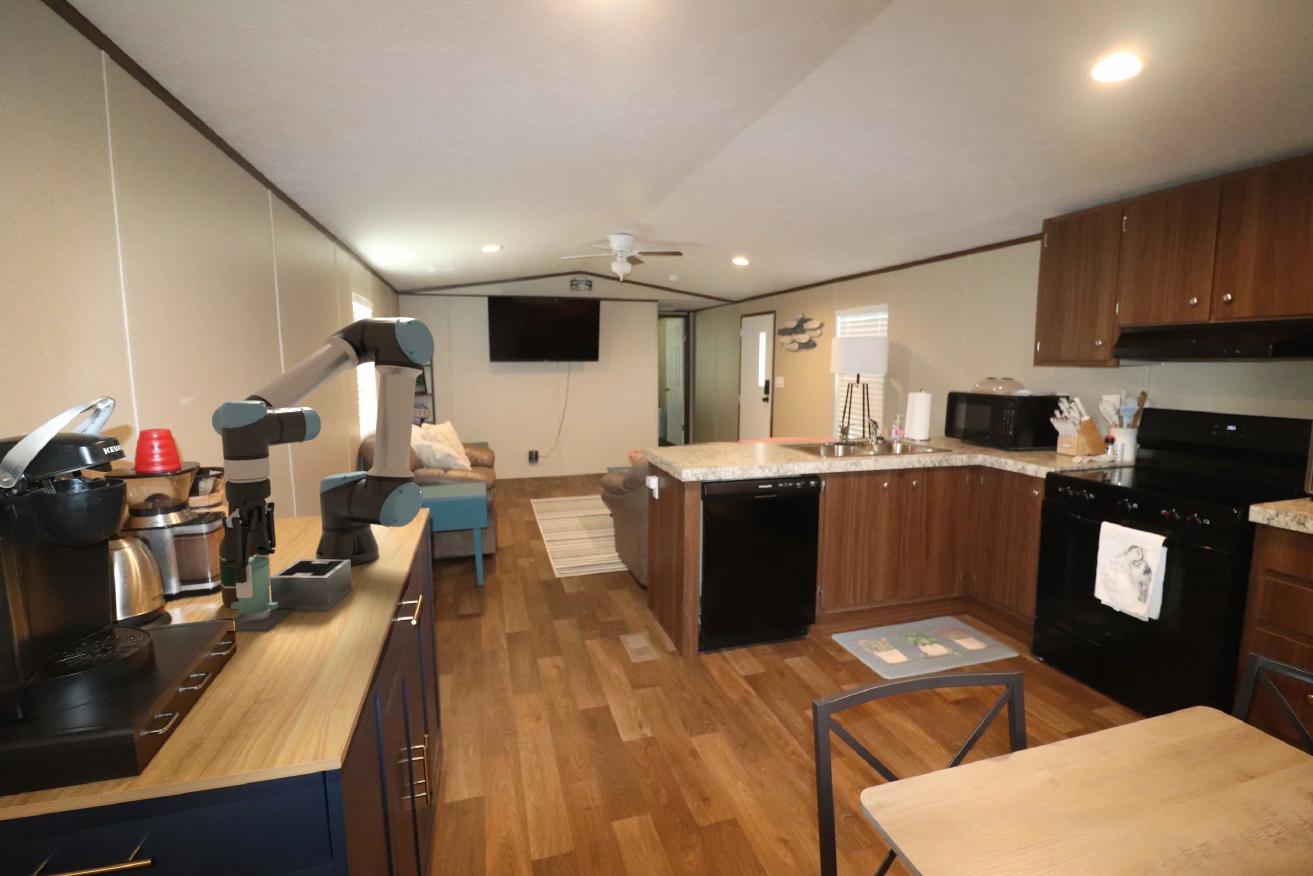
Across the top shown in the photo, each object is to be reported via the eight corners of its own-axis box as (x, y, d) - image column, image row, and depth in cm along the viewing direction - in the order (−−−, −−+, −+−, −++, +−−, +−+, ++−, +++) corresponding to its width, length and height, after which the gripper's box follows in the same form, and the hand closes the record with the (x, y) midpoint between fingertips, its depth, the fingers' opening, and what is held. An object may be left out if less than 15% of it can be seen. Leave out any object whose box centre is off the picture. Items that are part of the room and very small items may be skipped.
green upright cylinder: (284, 603, 127) (282, 557, 126) (269, 614, 122) (266, 566, 121) (241, 603, 127) (238, 556, 125) (224, 614, 121) (221, 565, 120)
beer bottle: (273, 598, 137) (266, 493, 134) (239, 611, 130) (232, 500, 126) (247, 592, 139) (241, 489, 136) (213, 605, 132) (205, 497, 129)
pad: (247, 612, 129) (246, 609, 129) (291, 612, 129) (291, 609, 129) (219, 631, 120) (219, 628, 120) (266, 631, 121) (266, 628, 120)
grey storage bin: (299, 590, 142) (298, 559, 141) (353, 590, 142) (351, 559, 141) (270, 611, 130) (268, 577, 129) (328, 611, 130) (327, 578, 129)
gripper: (255, 470, 130) (261, 575, 133) (195, 488, 111) (204, 609, 114) (292, 470, 130) (297, 575, 133) (238, 488, 112) (245, 609, 115)
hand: (254, 591), depth 124 cm, fingers closed on green upright cylinder, 5 cm apart
